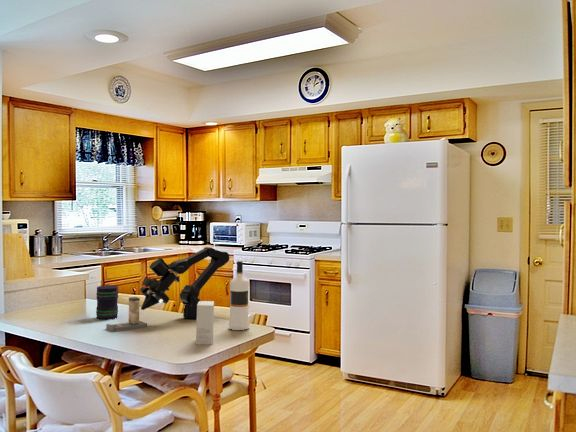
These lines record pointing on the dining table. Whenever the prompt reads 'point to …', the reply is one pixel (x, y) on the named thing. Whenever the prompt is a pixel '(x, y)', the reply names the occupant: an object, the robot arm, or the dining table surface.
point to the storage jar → (107, 302)
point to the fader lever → (134, 310)
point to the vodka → (239, 300)
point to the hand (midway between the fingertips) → (141, 309)
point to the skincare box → (205, 323)
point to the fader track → (125, 326)
